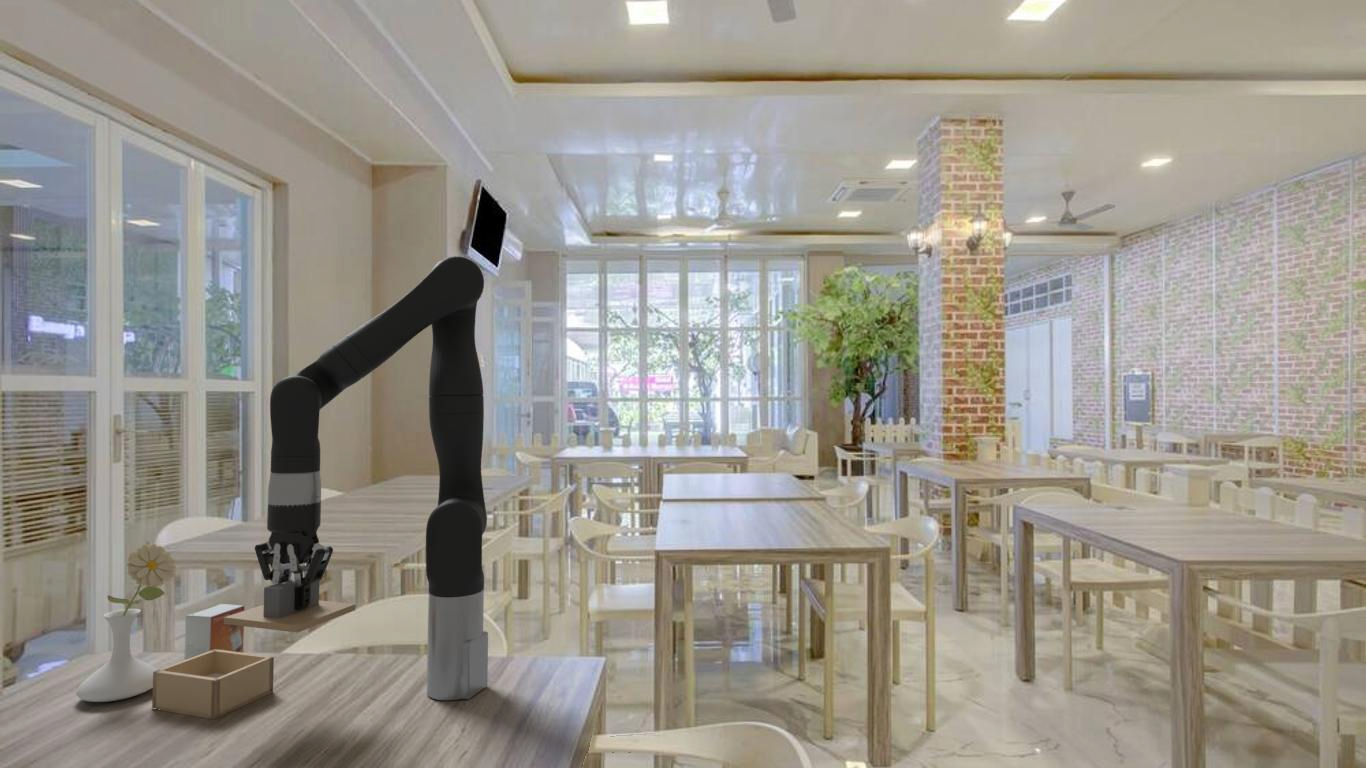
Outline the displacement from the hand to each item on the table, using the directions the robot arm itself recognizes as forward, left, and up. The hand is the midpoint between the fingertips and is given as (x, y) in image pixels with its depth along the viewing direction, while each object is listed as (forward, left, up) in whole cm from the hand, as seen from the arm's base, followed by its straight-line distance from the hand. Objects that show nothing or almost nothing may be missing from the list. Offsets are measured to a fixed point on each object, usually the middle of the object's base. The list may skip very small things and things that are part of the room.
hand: (292, 607), depth 113 cm
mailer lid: (0, 0, -1) cm, 1 cm away
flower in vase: (+33, +1, -17) cm, 38 cm away
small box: (+30, -13, -17) cm, 37 cm away
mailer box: (+16, -1, -17) cm, 24 cm away
